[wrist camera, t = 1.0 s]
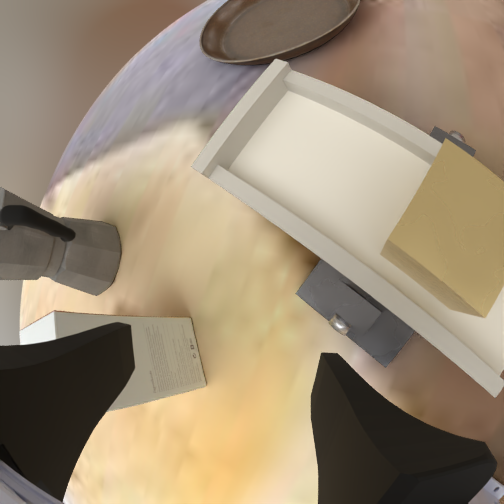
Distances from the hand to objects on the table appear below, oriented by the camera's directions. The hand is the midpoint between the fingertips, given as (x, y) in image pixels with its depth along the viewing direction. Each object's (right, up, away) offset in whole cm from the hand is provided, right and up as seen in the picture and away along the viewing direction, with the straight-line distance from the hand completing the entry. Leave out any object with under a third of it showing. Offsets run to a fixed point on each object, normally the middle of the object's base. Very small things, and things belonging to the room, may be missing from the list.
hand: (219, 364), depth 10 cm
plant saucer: (+5, +32, +17) cm, 37 cm away
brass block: (+11, +4, +3) cm, 12 cm away
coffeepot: (-16, +3, +22) cm, 28 cm away
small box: (-7, -6, +15) cm, 18 cm away
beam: (+10, +5, +5) cm, 12 cm away
